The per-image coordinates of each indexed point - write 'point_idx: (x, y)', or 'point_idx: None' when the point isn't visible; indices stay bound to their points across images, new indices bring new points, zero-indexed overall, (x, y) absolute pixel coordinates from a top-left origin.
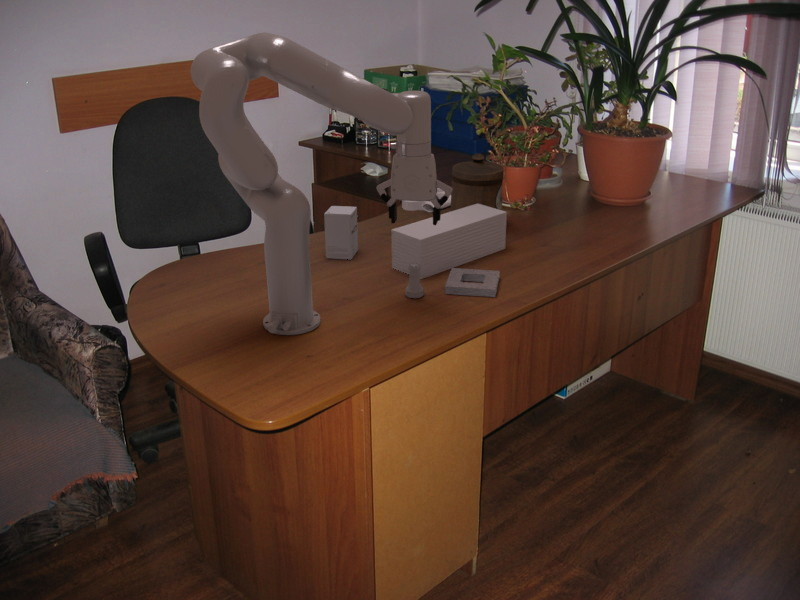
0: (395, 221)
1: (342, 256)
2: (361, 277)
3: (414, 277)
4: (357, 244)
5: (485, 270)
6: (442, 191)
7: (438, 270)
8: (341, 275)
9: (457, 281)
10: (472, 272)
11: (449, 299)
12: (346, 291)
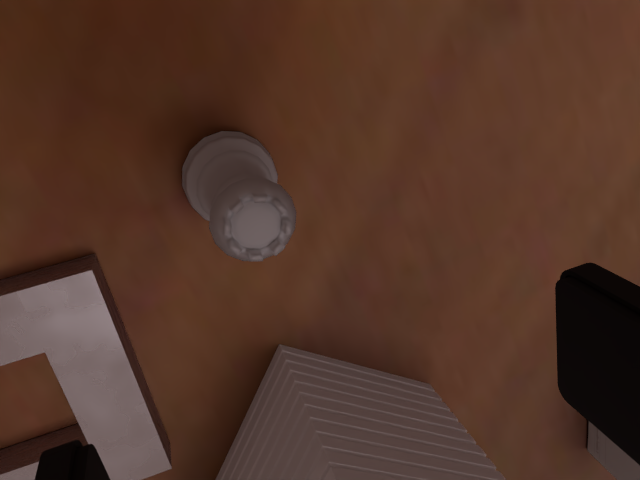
0: (556, 328)
1: None
2: (510, 251)
3: (232, 178)
4: (605, 463)
5: None
6: None
7: (238, 444)
8: (586, 233)
9: (62, 352)
10: None
11: (38, 204)
12: (526, 89)
